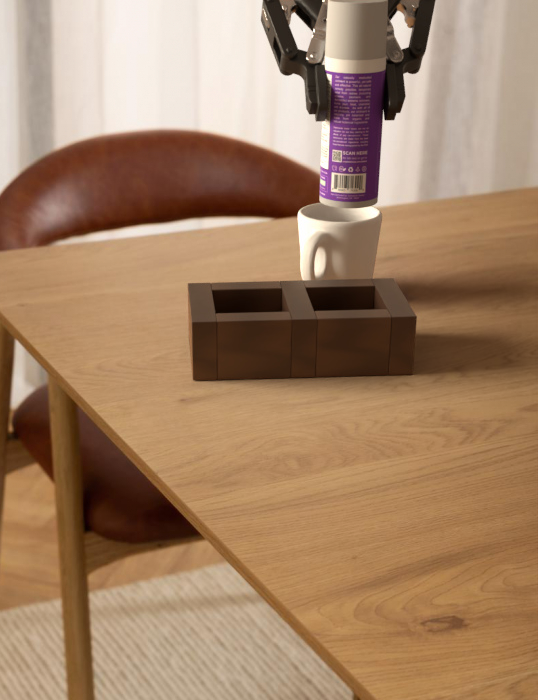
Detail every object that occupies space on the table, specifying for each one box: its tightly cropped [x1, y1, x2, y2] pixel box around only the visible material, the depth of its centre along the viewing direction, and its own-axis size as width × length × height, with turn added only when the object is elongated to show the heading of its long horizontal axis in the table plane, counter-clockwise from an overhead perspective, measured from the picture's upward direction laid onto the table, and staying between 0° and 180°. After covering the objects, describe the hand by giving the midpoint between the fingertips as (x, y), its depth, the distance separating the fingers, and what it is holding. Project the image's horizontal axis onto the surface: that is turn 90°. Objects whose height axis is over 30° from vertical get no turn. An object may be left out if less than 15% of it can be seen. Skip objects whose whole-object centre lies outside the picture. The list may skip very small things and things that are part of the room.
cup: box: [297, 202, 383, 281], centre depth 112 cm, size 11×8×8 cm
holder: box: [187, 277, 418, 381], centre depth 100 cm, size 18×10×5 cm, turn 93°
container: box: [318, 0, 388, 208], centre depth 91 cm, size 5×5×15 cm
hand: (357, 114), depth 90 cm, fingers closed on container, 4 cm apart
